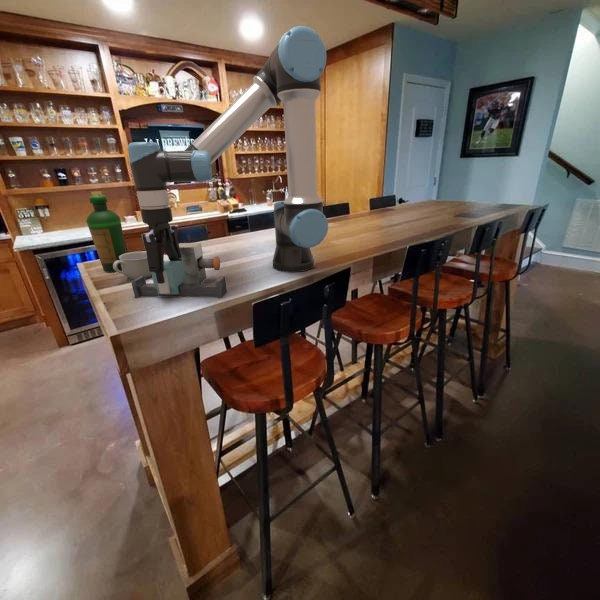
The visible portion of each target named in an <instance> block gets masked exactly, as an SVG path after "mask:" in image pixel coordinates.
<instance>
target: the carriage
mask: <svg viewBox="0 0 600 600" xmlns="http://www.w3.org/2000/svg"><path fill="white" fill-rule="evenodd" d="M164 271H166V273H167V278H168V283H169V288H170V293H169V294H179V290H178V286H179V285H180V284H181V283H185V282H184V281H185V280H186V279H185V274H184V268H183V263H182V261H170V260H164ZM151 274H152V275H151V278H152V282H153V283H154V287H155V288H157V292H158V294H160V291H159V287H158V282H157V278H156V273H155V272H151Z"/></svg>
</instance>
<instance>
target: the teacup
mask: <svg viewBox="0 0 600 600" xmlns="http://www.w3.org/2000/svg"><path fill="white" fill-rule="evenodd" d="M119 259H120V260H117V261H115V262H114V264H113V269H114V270H115V271H116V272H115V273H118V274H121V275H123V276H124V277H127V278H129V279H131V280H135V279H136V278H138V277H140V276H145V279H148V278H150V277H152V274H151V272H150V271H149V266H148V260H147V253H146V250H145V251H141V250H140V251H131V252H126V253H125V254H122V255H120V256H119ZM119 263H120V264H121V267H122V271H120V270H119V269H118V268H117V265H118V264H119Z"/></svg>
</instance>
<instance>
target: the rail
mask: <svg viewBox="0 0 600 600" xmlns="http://www.w3.org/2000/svg"><path fill="white" fill-rule="evenodd" d="M130 283H131V288H132V290H133V295H134V298H135V299H139V298H142V297H144V298H146V297H150V298H151V297H156V298H158V297H162V298H163V297H164V298H165V297H169V298H170V297H171V298H173V297H177V298H179V297H182V298H183V297H184V298H185V297H187V298H191V297H192V298H194V297H195V298H197V297H199V298H200V297H201V298H204V297H206V298H216V297H217V299H223V298H224V296H225V295H226V294H227V293H228V287H227V280H226V275H220V276H219V277H218V278H217V279H216V280H215V283H214V282H213V283H211V282H210V283H208V282H205V283H204V282H202V283H181V284H180V285H179V286H178V290H179V294H158V292H157V288H155V287H154V283H151V282H150V283H149V282H148V283H147V280H146V278H145V276H140V277H138V278H136V279H132V280H131V281H130Z"/></svg>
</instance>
